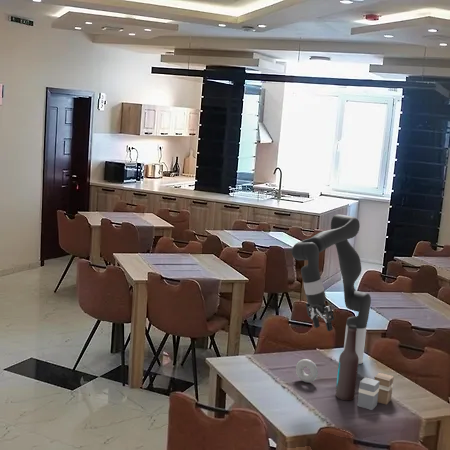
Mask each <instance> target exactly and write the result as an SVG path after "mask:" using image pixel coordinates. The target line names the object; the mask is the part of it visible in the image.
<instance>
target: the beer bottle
mask: <svg viewBox="0 0 450 450" xmlns="http://www.w3.org/2000/svg"><path fill="white" fill-rule="evenodd" d="M356 331H357V326H355V325H348V333H347V339H346V345H345V349H344V348H343V351H342V352H341V353H340V355H339V358H338V367H337V376H336V387H335V396H336V398H337V399H339V400H342V401H352V400H354V399H355V396H356V389H357V380H358V379H357V377H358V367H359V364H358V361H359V358H358V355H357V354H356V351H355V345H356Z"/></svg>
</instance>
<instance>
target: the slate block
mask: <svg viewBox="0 0 450 450" xmlns="http://www.w3.org/2000/svg"><path fill="white" fill-rule="evenodd" d="M379 383H380V381H377V380H374V379H373V378H369V377H364V378H362V380H359V386H358V395H357V396H358V397H357V405H356V406H357V407H360V408H363V409H367V410H369V411H373V410H374V409H375V408H376V407H377V405H378V402H377V400H378V392H379Z"/></svg>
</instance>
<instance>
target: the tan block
mask: <svg viewBox="0 0 450 450" xmlns="http://www.w3.org/2000/svg"><path fill="white" fill-rule="evenodd" d="M394 378H395V377H394V375H390V374H386V373H382V372H378V373H377V374H376V375H375V376H374V379H373V380H377V381H380V383H379V392H378V400H377V403H379V404H384V405H388V404H389V403H390V402H391V401H392V396H393V387H394Z"/></svg>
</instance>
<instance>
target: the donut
mask: <svg viewBox="0 0 450 450" xmlns="http://www.w3.org/2000/svg"><path fill="white" fill-rule="evenodd" d="M304 368H308V370H309V374H308V373H306V372H305V370H304ZM295 373H296V376H297V378H298V379H299V380H300V381H302V382H304V383H313V382H314V381H316V379H317V377H318V375H319V370H318V367H317V365H316V363H315V362H313V360H310V359H309V358H308V359H307V358H303V359H301V360H298V362H297V364H296V366H295Z"/></svg>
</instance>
